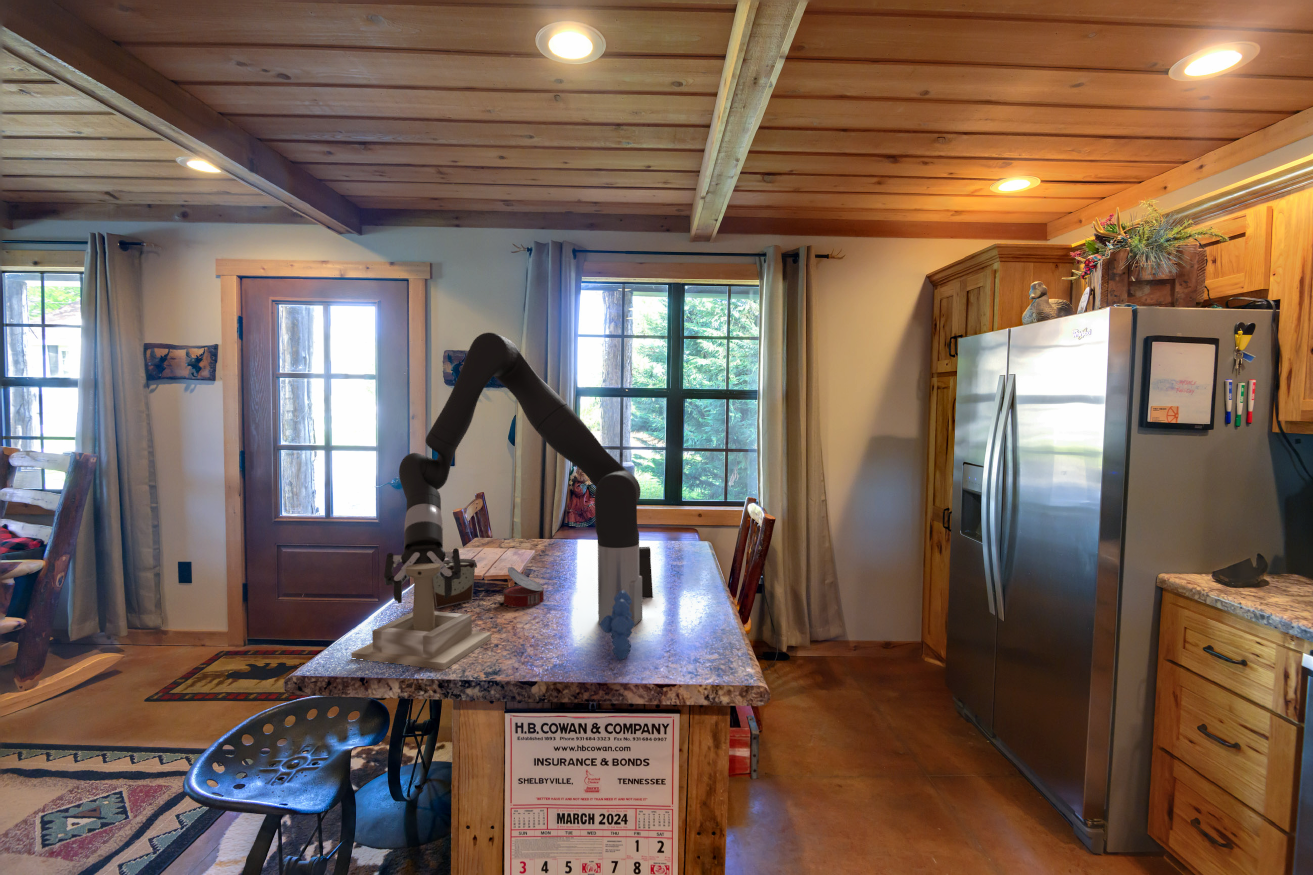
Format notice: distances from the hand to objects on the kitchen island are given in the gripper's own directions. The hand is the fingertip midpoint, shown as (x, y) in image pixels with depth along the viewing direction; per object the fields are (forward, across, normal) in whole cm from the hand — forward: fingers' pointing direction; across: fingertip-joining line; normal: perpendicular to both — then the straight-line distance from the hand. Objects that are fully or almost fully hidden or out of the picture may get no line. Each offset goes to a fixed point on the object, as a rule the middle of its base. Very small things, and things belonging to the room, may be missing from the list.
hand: (423, 598), depth 117 cm
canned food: (-12, +23, +26) cm, 37 cm away
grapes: (+18, +35, -4) cm, 39 cm away
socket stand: (+6, 0, +8) cm, 10 cm away
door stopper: (-9, +52, +23) cm, 57 cm away
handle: (+5, 0, +8) cm, 9 cm away
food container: (-16, +5, +31) cm, 35 cm away
